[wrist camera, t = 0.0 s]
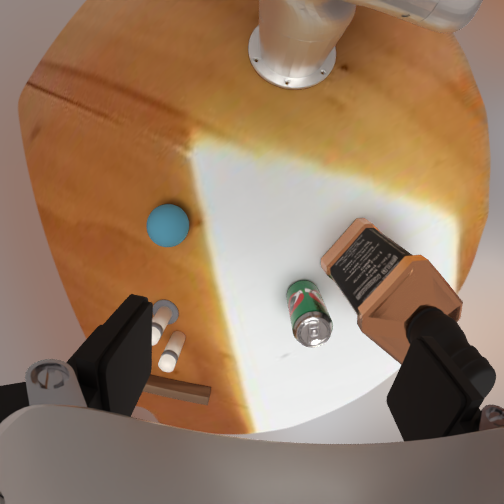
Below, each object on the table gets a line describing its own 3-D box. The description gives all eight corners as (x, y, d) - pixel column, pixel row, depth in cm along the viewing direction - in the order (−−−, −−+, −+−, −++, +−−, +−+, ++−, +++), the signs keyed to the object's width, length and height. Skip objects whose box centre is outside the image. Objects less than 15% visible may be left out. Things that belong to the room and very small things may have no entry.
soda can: (287, 311, 50) (295, 352, 38) (284, 281, 49) (291, 317, 37) (319, 306, 50) (334, 346, 38) (317, 277, 48) (334, 311, 37)
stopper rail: (127, 368, 54) (122, 378, 51) (210, 387, 55) (208, 397, 52) (128, 376, 55) (123, 386, 52) (209, 394, 55) (207, 405, 52)
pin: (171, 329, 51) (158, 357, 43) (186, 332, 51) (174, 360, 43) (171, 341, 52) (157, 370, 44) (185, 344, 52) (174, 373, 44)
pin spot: (153, 297, 50) (153, 297, 50) (179, 302, 50) (179, 303, 50) (152, 320, 51) (152, 321, 51) (177, 326, 51) (177, 326, 51)
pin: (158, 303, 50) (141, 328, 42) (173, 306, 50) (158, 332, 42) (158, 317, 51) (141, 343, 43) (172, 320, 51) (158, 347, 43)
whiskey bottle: (402, 256, 47) (537, 367, 16) (361, 302, 49) (454, 450, 19) (360, 213, 46) (502, 300, 15) (316, 262, 48) (393, 413, 17)
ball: (156, 199, 46) (142, 204, 40) (195, 204, 46) (186, 210, 40) (152, 238, 47) (138, 248, 42) (190, 244, 47) (181, 255, 42)
